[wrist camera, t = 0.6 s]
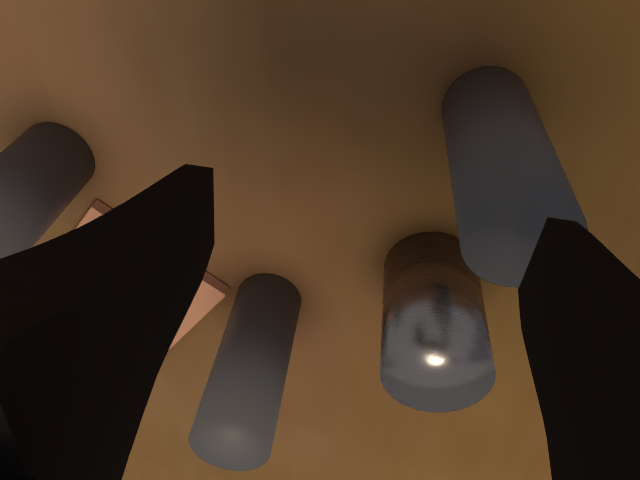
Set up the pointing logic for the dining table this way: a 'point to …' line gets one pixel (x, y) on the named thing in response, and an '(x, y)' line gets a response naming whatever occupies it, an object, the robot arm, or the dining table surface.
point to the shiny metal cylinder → (434, 326)
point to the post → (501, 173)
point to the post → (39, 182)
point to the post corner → (248, 376)
